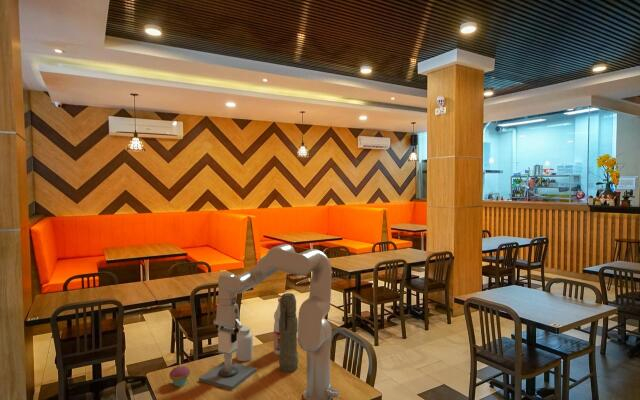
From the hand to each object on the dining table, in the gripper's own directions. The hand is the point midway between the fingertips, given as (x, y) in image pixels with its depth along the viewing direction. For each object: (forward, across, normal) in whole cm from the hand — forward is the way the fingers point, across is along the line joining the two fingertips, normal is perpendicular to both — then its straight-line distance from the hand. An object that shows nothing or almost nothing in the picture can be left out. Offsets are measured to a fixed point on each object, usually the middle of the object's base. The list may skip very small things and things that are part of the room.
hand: (227, 340), depth 175 cm
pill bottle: (+17, +4, -18) cm, 25 cm away
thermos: (+17, -21, -18) cm, 32 cm away
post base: (+17, 0, 0) cm, 17 cm away
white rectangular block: (+5, 0, 0) cm, 5 cm away
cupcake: (+17, +15, +14) cm, 26 cm away
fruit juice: (+17, -10, -32) cm, 37 cm away
